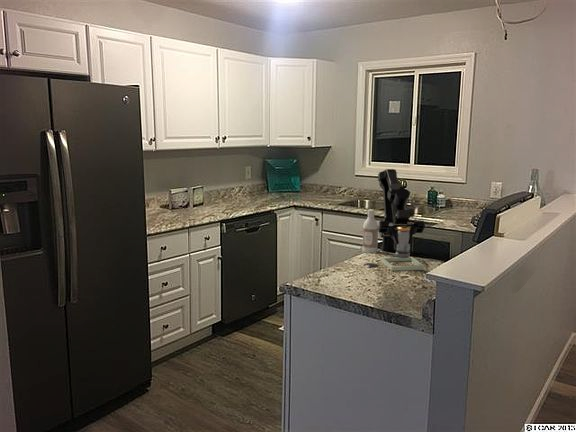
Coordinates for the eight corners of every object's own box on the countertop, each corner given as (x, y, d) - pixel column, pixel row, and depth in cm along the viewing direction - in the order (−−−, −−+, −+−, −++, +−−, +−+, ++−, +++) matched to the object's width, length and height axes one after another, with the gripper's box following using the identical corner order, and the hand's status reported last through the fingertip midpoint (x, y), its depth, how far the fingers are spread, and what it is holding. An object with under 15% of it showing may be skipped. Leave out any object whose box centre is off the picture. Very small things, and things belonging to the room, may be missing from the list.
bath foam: (360, 252, 218) (361, 210, 214) (365, 249, 224) (366, 208, 220) (374, 254, 215) (375, 211, 211) (379, 250, 221) (380, 209, 217)
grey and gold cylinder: (392, 255, 194) (393, 226, 192) (402, 253, 197) (404, 225, 194) (401, 258, 189) (403, 229, 187) (412, 256, 192) (413, 227, 189)
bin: (381, 263, 199) (381, 257, 199) (411, 262, 201) (411, 256, 200) (391, 272, 186) (391, 266, 186) (423, 271, 187) (424, 265, 187)
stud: (361, 265, 196) (361, 263, 196) (376, 265, 197) (376, 263, 196) (365, 270, 190) (365, 267, 189) (380, 269, 190) (380, 267, 190)
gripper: (380, 201, 193) (383, 233, 184) (425, 201, 192) (431, 233, 183) (376, 216, 202) (379, 247, 193) (419, 216, 201) (424, 247, 193)
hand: (403, 244), depth 190 cm, fingers closed on grey and gold cylinder, 5 cm apart
